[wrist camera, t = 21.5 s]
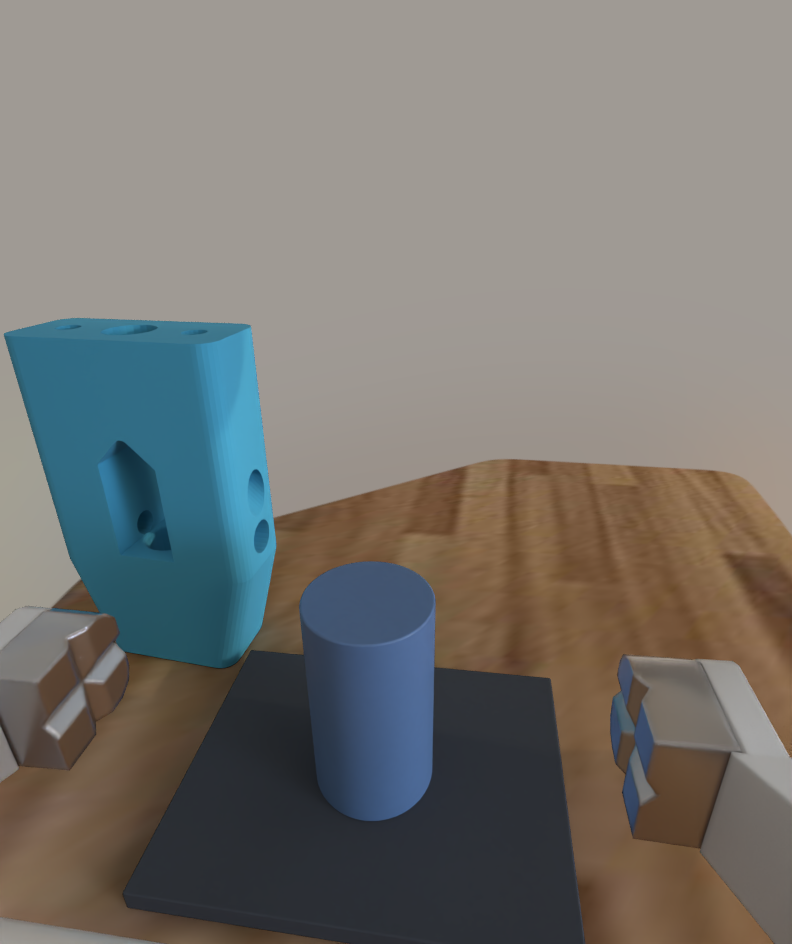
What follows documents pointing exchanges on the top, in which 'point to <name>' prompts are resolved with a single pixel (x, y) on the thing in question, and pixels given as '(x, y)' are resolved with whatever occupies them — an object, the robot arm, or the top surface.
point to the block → (156, 475)
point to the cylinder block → (370, 686)
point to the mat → (372, 824)
